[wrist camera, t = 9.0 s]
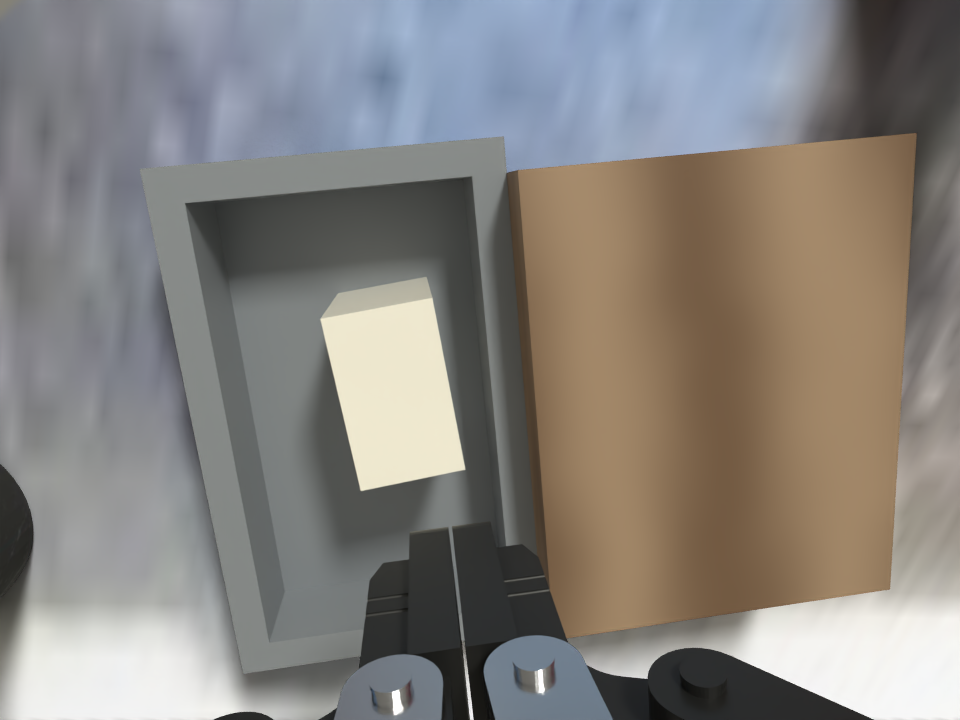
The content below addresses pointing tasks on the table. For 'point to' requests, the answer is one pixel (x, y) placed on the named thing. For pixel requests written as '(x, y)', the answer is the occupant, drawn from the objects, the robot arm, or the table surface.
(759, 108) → the table surface
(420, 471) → the cream square block
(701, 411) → the ledge
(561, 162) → the table surface
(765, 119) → the table surface
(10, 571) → the travel mug
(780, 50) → the table surface
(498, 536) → the box
